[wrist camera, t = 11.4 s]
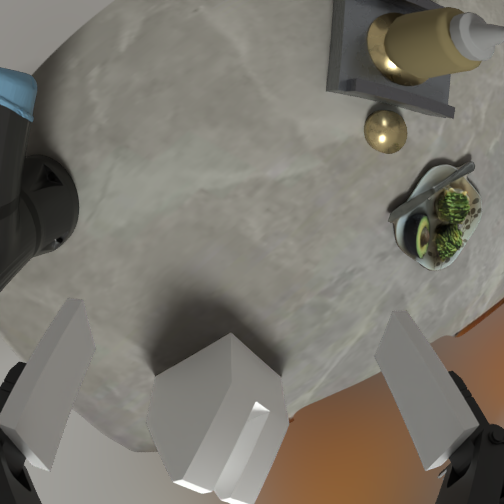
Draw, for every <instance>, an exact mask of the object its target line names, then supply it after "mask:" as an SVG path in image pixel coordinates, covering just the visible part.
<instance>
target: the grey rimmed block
mask: <svg viewBox="0 0 504 504" xmlns="http://www.w3.org/2000/svg"><path fill="white" fill-rule="evenodd" d="M439 8H445V7H443V6H440V5H438V4H436V3H434V2H432V1H430V0H334V2H333V18H332V32H331V44H330V56H329V67H328V78H327V88H326V91H328V92H334V93H339V94H345V95H350V96H355V97H359V98H364V99H368V100H373V101H377V102H381V103H385V104H389V105H393V106H397V107H401V108H405V109H408V110H412V111H415V112H419V113H422V114H425V115H430V116H437V117H442V118H446V117H447V118H453V119H454V112H455V107H452V106H450V105H448V97H449V87H450V75H451V74H447V75H442V76H437V77H433V78H418V77H416V76H414V75H412V74H409V73H407V72H406V71H404V70H402V69H400V68H398V67H396V66H395V65H394V64H393V63H392V62H391V61H390V60H389V58H388V56H387V54H386V53H385V48H384V39H385V35H386V33H387V31H388V29H389V27H390V26H391V24H392V23H393V22H394V21H395V19H396V18H397V17H400V16H403V15H405V14H409V13H415V12H420V11H426V10H432V9H439Z"/></svg>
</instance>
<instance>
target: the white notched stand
mask: <svg viewBox="0 0 504 504" xmlns="http://www.w3.org/2000/svg"><path fill="white" fill-rule="evenodd" d="M146 424H147V427H148V429H149V432H150V434H151V436H152V439H153V441H154V443H155V446H156V448H157V450H158V452H159V454H160V456H161V459H162V461H163V463H164V465H165V468H166V470H167V472H168V474H169V476H170V478H171V480H172V482H174V483H177V484H179V485H181V486H184V487H186V488H189V489H192V490H194V491H196V492H199V493H202V494H203V493H208V492H212V491H213V490H214V492H215V493H216V494H217V496H218V498H219V499H220V500H222V501H225V502H228V503H231V504H254V503H255V501H256V499H257V497H258V495H259V492H260V490H261V488H262V486H263V484H264V481H265V479H266V477H267V475H268V473H269V471H270V469H271V466H272V464H273V461H274V459H275V457H276V455H277V453H278V450H279V448H280V446H281V443H282V440H283V438H284V436H285V433H286V431H287V428H288V426H289V420H288V414H287V408H286V402H285V396H284V390H283V384H282V379H281V376H279V375H278V374H277V373H276V372H275V371H274V370H272V369H271V368H270V367H269V366H268V365H267V364H266V363H264V362H263V361H262V360H261V359H260V358H259V357H258V356H257V355H255V354H254V353H253V352H252V351H251V350H250V349H249V348H248V347H247V346H245V345H244V344H243V343H242V342H241V341H240V340H239V339H238V338H237V337H236V336H235V335H233V334H232V333H229V334H227V335H226V336H224V337H222V338H221V339H219V340H217V341H216V342H214V343H212V344H211V345H209V346H207V347H205V348H204V349H202V350H200V351H199V352H197V353H195V354H194V355H192V356H190V357H188V358H187V359H185V360H183V361H181V362H180V363H178V364H176V365H174V366H173V367H171V368H169V369H167V370H165V371H164V372H162V373H160V374H158V375H157V376H155V380H154V384H153V389H152V394H151V399H150V404H149V409H148V414H147V419H146Z"/></svg>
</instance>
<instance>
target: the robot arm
mask: <svg viewBox="0 0 504 504" xmlns="http://www.w3.org/2000/svg"><path fill="white" fill-rule="evenodd" d="M36 94H37V83H36V80H35V79H34V78H33V77H32V76H31V75H29V74H26V73H23V72H19V71H14V70H10V69H5V68H1V67H0V292H1V291H2V289H3V288H4V287H5V286H6V285H7V284H8V283H9V282H10V281H11V279H12V278H13V277H14V276H15V275H16V274H17V273H18V272H19V271H20V270H21V269H22V268H23V267H24V266H25V264H26V263H27V262H28V261H29V260H30V259H31V258H32V257H35V256H39V255H42V254H45V253H49V252H52V251H54V250H56V249H57V248H59V247H60V246H61V245H62V244H63V243H64V242H65V241H66V240H67V239H68V238H69V237H70V236H71V235H72V233H73V231H74V229H75V227H76V224H77V221H78V215H79V202H78V196H77V192H76V189H75V186H74V184H73V181H72V179H71V178H70V176H69V174H68V173H67V172H66V170H65V169H64V168H63V167H62V166H61V165H60V164H59V163H57V162H56V161H55V160H53V159H51V158H49V157H46V156H42V155H32V156H28V157H25V154H26V148H27V142H28V137H29V132H30V127H31V122H33V119H34V118H33V109H34V104H35V99H36ZM95 350H96V347H95V343H94V340H93V336H92V332H91V329H90V325H89V321H88V317H87V313H86V309H85V305H84V300H82V299H73V298H68V299H67V300H66V302H65V303H64V305H63V306H62V308H61V309H60V311H59V312H58V314H57V315H56V317H55V318H54V320H53V321H52V323H51V324H50V326H49V328H48V329H47V331H46V332H45V334H44V336H43V337H42V339H41V340H40V342H39V344H38V345H37V347H36V349H35V350H34V352H33V354H32V356H31V357H30V359H29V361H28V362H27V363H23V362H18V363H17V364H16V365H15V366H14V367H13V368H11V369H10V371H9V372H8V374H7V376H6V378H5V379H4V382H3V383H2V385H1V387H0V504H42V503H41V501H40V499H39V497H38V495H37V492H36V490H35V488H34V486H33V483H32V481H31V479H30V476H29V474H28V471H27V469H26V467H25V466H24V462H25V459H27V460H28V461H29V462H30V463H31V464H32V465H33V466H36V467H38V468H41V469H44V470H47V471H51V468H52V465H53V462H54V459H55V455H56V452H57V449H58V446H59V443H60V440H61V437H62V434H63V431H64V429H65V425H66V423H67V420H68V417H69V414H70V412H71V409H72V407H73V404H74V401H75V399H76V396H77V393H78V391H79V388H80V386H81V383H82V381H83V378H84V376H85V374H86V371H87V369H88V366H89V364H90V362H91V359H92V357H93V354H94V352H95ZM375 359H376V361H377V363H378V365H379V367H380V369H381V371H382V373H383V375H384V377H385V380H386V381H387V384H388V386H389V388H390V390H391V392H392V394H393V397H394V399H395V401H396V403H397V405H398V408H399V410H400V412H401V415H402V417H403V419H404V421H405V424H406V426H407V428H408V431H409V433H410V435H411V437H412V440H413V442H414V445H415V447H416V449H417V452H418V454H419V457H420V459H421V462H422V464H423V467H424V469H425V471H427V470H430V469H433V468H436V467H438V466H441V465H442V464H443V463H444V462H445V461H446V460H447V459H448V458H449V459H450V461H451V463H450V464H449V465H448V466H447V467H446V468H445V469H444V470H443V471H442V472H441V473H440V474H439V476H438V478H440V477H442V476H443V475H444V474H445V473H446V474H445V477H444V478H443V484H442V486H441V489H440V492H439V495H438V498H437V501H436V503H435V504H504V429H503V428H502V427H500V426H498V425H495V424H489V423H488V421H487V420H486V418H485V416H484V414H483V413H482V411H481V409H480V408H479V406H478V404H477V403H476V401H475V399H474V398H473V397H471V396H472V395H471V393H470V391H469V390H467V387H466V385H465V383H464V382H463V380H462V379H461V378H460V377H459V376H458V375H457V374H456V373H454V372H453V371H449V372H448V371H447V370H446V368H445V367H444V365H443V363H442V362H441V360H440V359H439V357H438V356H437V354H436V353H435V351H434V350H433V348H432V347H431V345H430V344H429V342H428V341H427V339H426V338H425V336H424V335H423V333H422V332H421V330H420V329H419V327H418V326H417V325H416V323H415V322H414V320H413V319H412V317H411V316H410V315H409V313H408V312H407V310H405V311H392V314H391V317H390V319H389V322H388V324H387V327H386V330H385V332H384V335H383V337H382V340H381V342H380V344H379V347H378V349H377V352H376V354H375Z"/></svg>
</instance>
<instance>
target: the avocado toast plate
mask: <svg viewBox="0 0 504 504" xmlns="http://www.w3.org/2000/svg"><path fill="white" fill-rule="evenodd" d="M474 169H475V164H474V162H472V161H469V162H467V163H465V164H464V165H462V166H460V167H454V166H452V165H449V164H445V165H439V166H434V167H432V168H431V169H430V170H428V171H427V173H426V174H425V175H424V176H423V177H422V178H421V180H420V181H419V183H418V184H417V186H416V187H415V189H414V191H413V192H412V194H411V195H410V197H409V198H408V199H407V201H406V202H405V203H403V204H402V205H400V206H399V207H398V208H396V209H395V210H394V211H393V212H392V213H391V214H390V217H389V219H388V222H390V223H392V222H393V224H394V234H395V240H396V243H397V245H398V247H399V248H400V249H401V250H402V251H403V252H404V253H405V254H407V255H408V256H410V257H411V258H412V259H414V260H415V261H417V262H418V263H419V264H420V265H421V266H423V267H425V268H426V269H428V270H431V271H437V270H441V269H443V268H445V267H448V266H449V265H450V264H452V262H453V261H454V260H455V259H456V258H457V256H458V255H459V253H460V252H461V250H462V249H463V247H464V246H465V244H466V243H467V241H468V239H469V238H470V236H471V235H472V234H473V232H474V231H475V229H476V227H477V225H478V224H479V222H480V219H481V215H482V201H481V197H480V195H479V193H478V192H477V191H476V190H475V188H474V187H473V186H472V185H471V183H470V182H469V181H468V179H467V175H468V174H469V173H471V172H472V171H474ZM429 197H431V199H430V200H428V198H429ZM464 220H465V221H464ZM463 221H464V223H463ZM457 224H463V226H462V228H461V230H458V228H457V227H458V226H457ZM437 226H439V227H438V228H437Z"/></svg>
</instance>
